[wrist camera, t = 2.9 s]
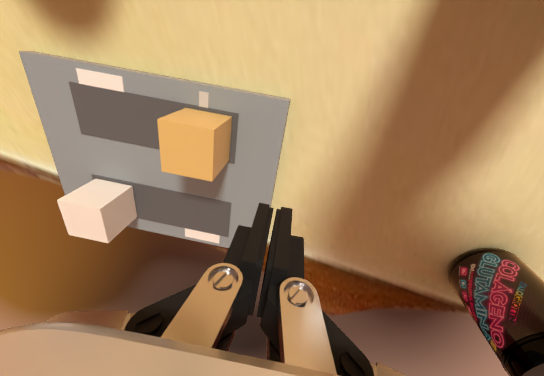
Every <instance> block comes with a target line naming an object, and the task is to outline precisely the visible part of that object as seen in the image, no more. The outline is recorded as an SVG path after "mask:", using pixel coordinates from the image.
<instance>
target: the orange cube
mask: <svg viewBox="0 0 544 376" xmlns="http://www.w3.org/2000/svg"><path fill="white" fill-rule="evenodd" d="M157 122H158V134H159V146H160V159H161V171H162V172H167V173H172V174H177V175H182V176H187V177H192V178H197V179H202V180H207V181H213V180H214V179H215V178H216V176H217V175H218V174H219V172H220V171H221V170H222V169H223V167H224V166H225V165H226V163H227V162H228V161H229V153H230V139H231V125H232V116H227V115H222V114H216V113H211V112H206V111H200V110H195V109H190V108H184V109H182V110H179V111H176V112H174V113H171V114H169V115H166V116H164V117H161V118H159V119H157Z"/></svg>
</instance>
